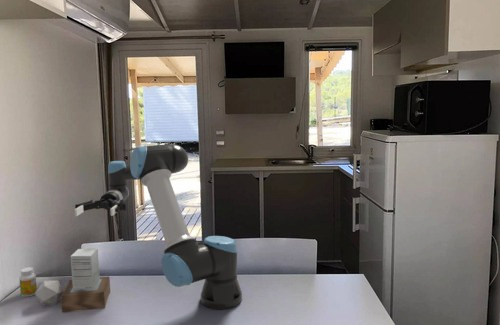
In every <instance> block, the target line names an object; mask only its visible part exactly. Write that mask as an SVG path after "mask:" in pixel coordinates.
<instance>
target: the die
mask: <svg viewBox="0 0 500 325" xmlns="http://www.w3.org/2000/svg"><path fill="white" fill-rule="evenodd" d="M64 290H65V289H63V287H62V285H61V284H60V281H59V280H43V282H42V283H41V284H40V285H39V287H38V288H37V291H36V292H35V294H34V296H36V298H37V299H38V301H39V303H40V305H57V303H58V301H59V300H61V295H62V293H63V292H64Z"/></svg>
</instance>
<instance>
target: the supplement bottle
mask: <svg viewBox="0 0 500 325" xmlns="http://www.w3.org/2000/svg"><path fill="white" fill-rule="evenodd" d="M20 274H21V275H20V276H19V288H20V289H19V290H20V296H21V297H23V298H26V297H32V296H35V292H36V291H37V290H38V288H37V277H36V276H37V275H36V273H34V267H31V266H30V267H23V268H21V270H20Z"/></svg>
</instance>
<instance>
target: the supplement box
mask: <svg viewBox="0 0 500 325" xmlns="http://www.w3.org/2000/svg"><path fill="white" fill-rule="evenodd" d="M99 262H100V260H99V250H98V248H77V250H75V252H73V253H72V254H71V255H70V267H71V269H70V270H71V280H72V284H73V290H87V289H94V288H95V286H96V285H97V283H98V282H99V281H100V277H101V275H100V265H99V264H100V263H99Z"/></svg>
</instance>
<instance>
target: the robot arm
mask: <svg viewBox="0 0 500 325" xmlns="http://www.w3.org/2000/svg"><path fill="white" fill-rule="evenodd" d="M188 163H189V155H188V153H187V151H186V150H185V149H184V148H183V147H182V146H180V145H177V144H174V143H173V144H172V143H170V144H156V145H146V144H145V145H141V146H136V147H135V148H134V149H133V150H132V151H131V154H130V162H129V164H126V162H125V161H124V160H113V161H110V162H109V163H108V165H107V166H108V167H107V174H108V189H109V190H108V191H107V192H105V193H104V194H103V195H101V197H100V199H98V200H97V199H96V200H94V199H91V200H89V201H85V202H81V203H77V204H75V205H74V217H78V216H79V215H81V214H83V213H84V211H85V212H86V211H89V210H93V209H95V210H100V209H104V210H105V211H106V210H107V211H110V216H111V217H113V216H114V215H115V214H117V213H118V212H121V211H123V212H125V211H127V204H126V202H125V201H126V200H127V198H128V197H129V195H130V190H129V188H128V187H127V181H128V182H129V181H135V180H140V183H141V185H142V186H144V187H147V191H148V193H149V197H150V200H151V203H152V206H153V209H154V211H155V215H156V218H157V221H158V223H159V228H160V230H161V233H162V236H163V238H164V242H165V245H166V246H165V248H164V249H163V253H164V255H162V257H161V269H162V272H163V275H164V277H165V278H166V280H167V281H168V283H169V284H171V285H172V286H174V287H175V288H176V287H177V288H179V287H185V286H189V285H191V284H193V283H197V282H199V281H203V280H204V282H203V286H202V288H201V292H200V302H201V305H203V306H204V307H206V308H208V309H214V310H226V309H227V310H228V309H231V308H234V307H236V306H238V305H240V304H241V303H242V301H243V291H242V289H241V286H240V283H239V281H238V248H237V247H238V246H237V242H236V241H235V240H234V238H231V237H228V236H222V235H210V236H207V237H205V238H204V240H203V243H204V244H198V240H197V239H196V237H192V236H191V234H190V232H189V229H188V227H187V224H186V222H185V218H184V216H183V213H182V210H181V206H180V205H179V202H178V199H177V197H176V193H175V191H174V187H173V186H172V183H171V181H170V179H171V177H172V174H177V173H179V172H181V171H183V170H184V169H185V168H186V167H187V166H188Z"/></svg>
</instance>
